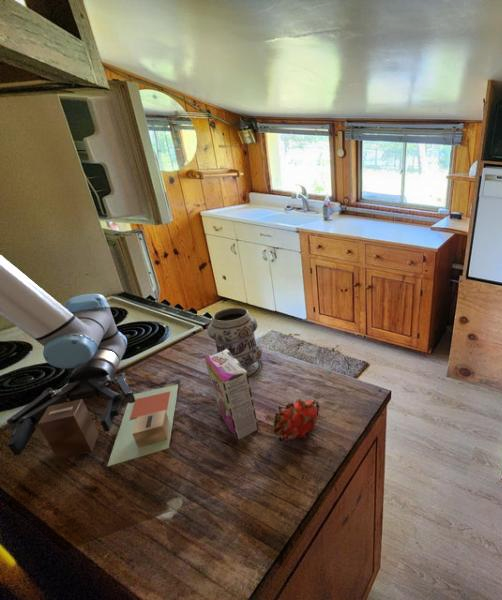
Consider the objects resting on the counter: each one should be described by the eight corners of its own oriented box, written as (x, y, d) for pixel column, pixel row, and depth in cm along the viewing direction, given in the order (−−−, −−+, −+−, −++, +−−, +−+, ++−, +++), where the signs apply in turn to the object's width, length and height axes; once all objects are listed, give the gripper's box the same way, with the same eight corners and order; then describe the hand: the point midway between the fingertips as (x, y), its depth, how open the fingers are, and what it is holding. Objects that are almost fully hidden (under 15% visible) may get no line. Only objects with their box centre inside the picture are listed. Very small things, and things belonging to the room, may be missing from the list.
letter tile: (138, 448, 66) (131, 433, 64) (142, 430, 70) (136, 416, 68) (167, 439, 68) (162, 425, 67) (169, 423, 72) (165, 409, 71)
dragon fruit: (272, 454, 68) (315, 425, 78) (294, 451, 64) (337, 421, 73) (257, 416, 69) (302, 392, 79) (278, 410, 64) (323, 386, 74)
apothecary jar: (254, 353, 98) (244, 299, 91) (272, 371, 91) (263, 314, 83) (211, 369, 91) (197, 312, 83) (227, 391, 83) (213, 330, 75)
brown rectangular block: (59, 462, 63) (37, 423, 59) (68, 443, 67) (48, 405, 63) (92, 453, 65) (73, 415, 61) (99, 435, 69) (82, 398, 65)
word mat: (107, 468, 62) (106, 466, 62) (130, 396, 80) (130, 394, 80) (169, 449, 67) (168, 447, 66) (178, 385, 84) (178, 383, 84)
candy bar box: (218, 414, 76) (203, 356, 69) (239, 404, 79) (227, 347, 72) (236, 443, 69) (222, 381, 62) (259, 430, 72) (248, 370, 65)
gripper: (160, 371, 85) (146, 430, 68) (32, 398, 74) (-23, 476, 57) (152, 347, 82) (135, 402, 64) (17, 372, 71) (-45, 446, 54)
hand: (61, 437), depth 61 cm, fingers open, 12 cm apart
